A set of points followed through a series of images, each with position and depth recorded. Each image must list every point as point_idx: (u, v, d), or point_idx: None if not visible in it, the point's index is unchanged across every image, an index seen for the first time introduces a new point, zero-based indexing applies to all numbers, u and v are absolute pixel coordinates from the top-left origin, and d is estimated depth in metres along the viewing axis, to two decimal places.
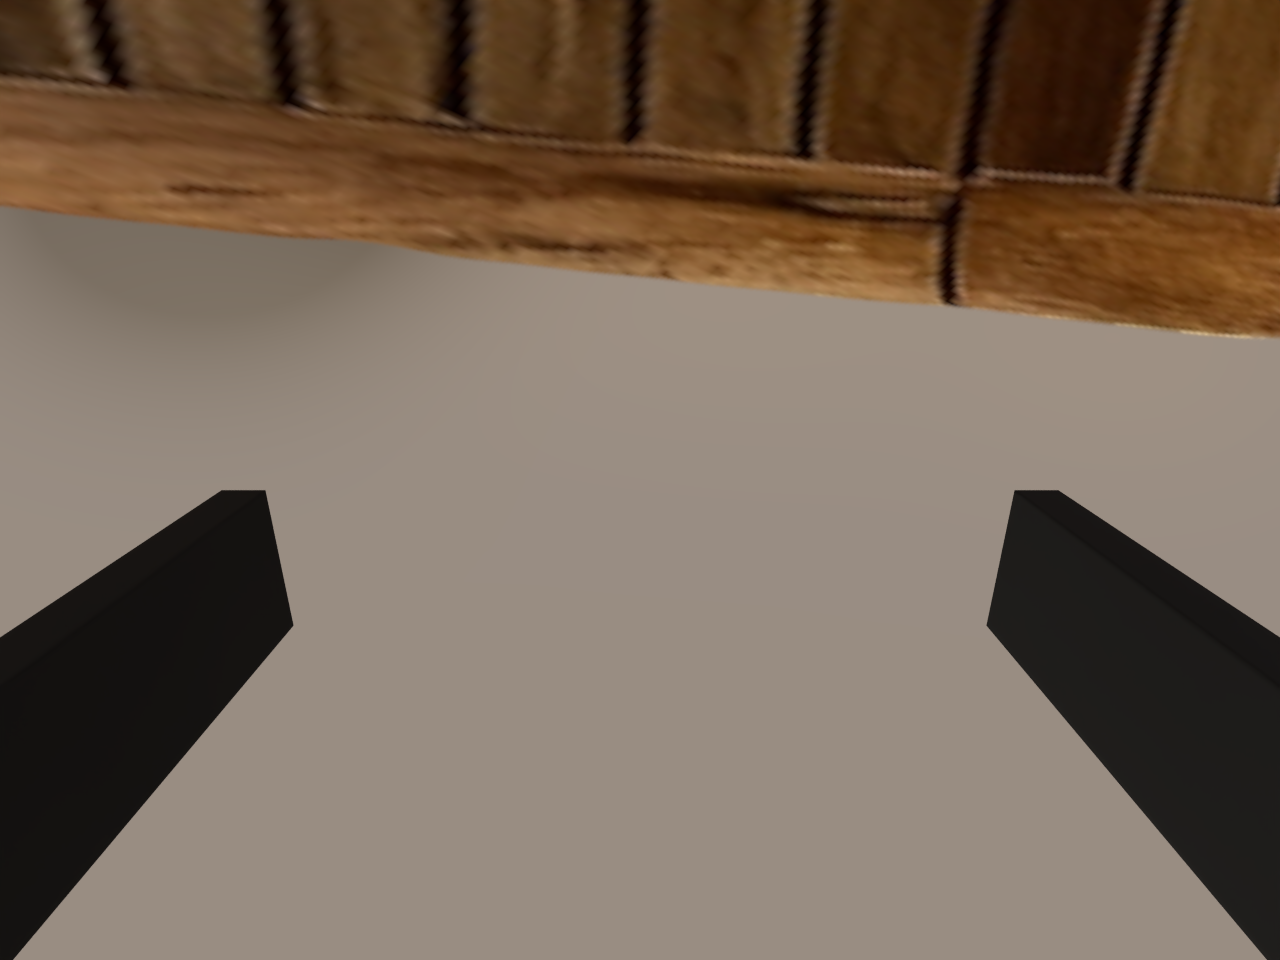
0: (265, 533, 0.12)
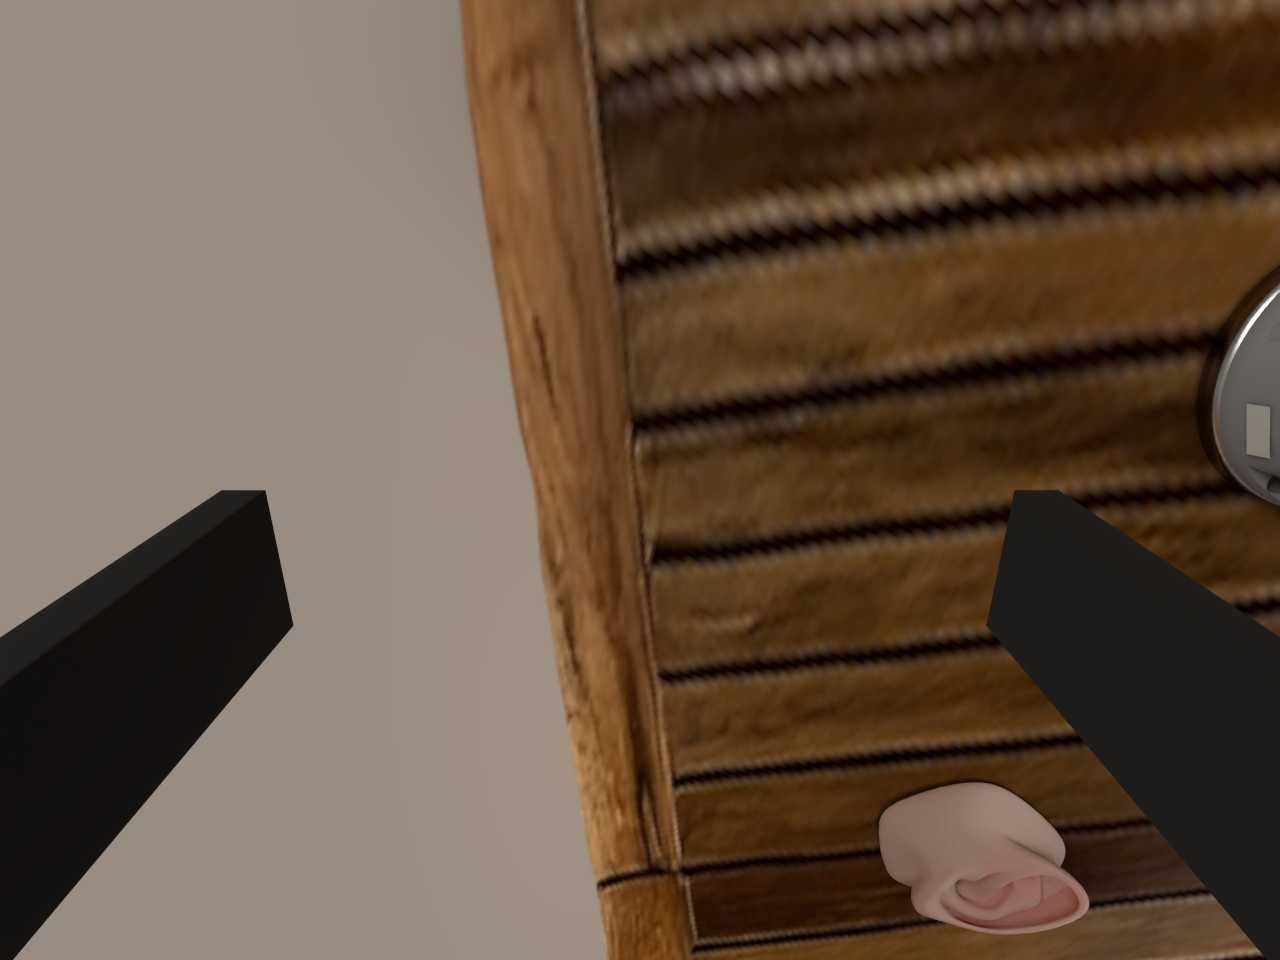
0: (265, 533, 0.12)
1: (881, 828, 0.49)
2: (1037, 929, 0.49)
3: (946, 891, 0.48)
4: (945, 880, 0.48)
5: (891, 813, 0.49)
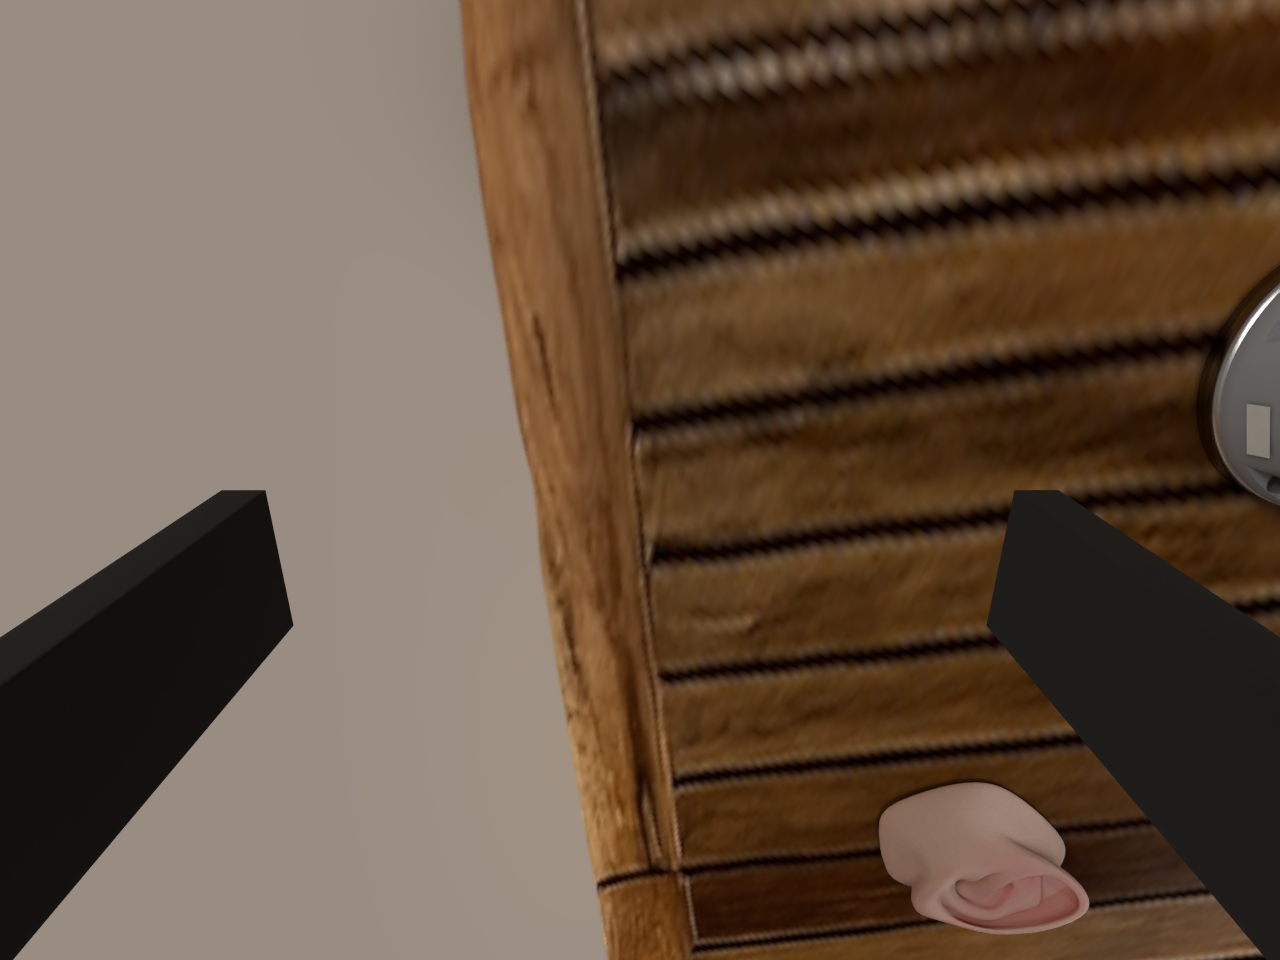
0: (265, 533, 0.12)
1: (881, 828, 0.49)
2: (1037, 929, 0.49)
3: (946, 891, 0.48)
4: (945, 880, 0.48)
5: (891, 813, 0.49)
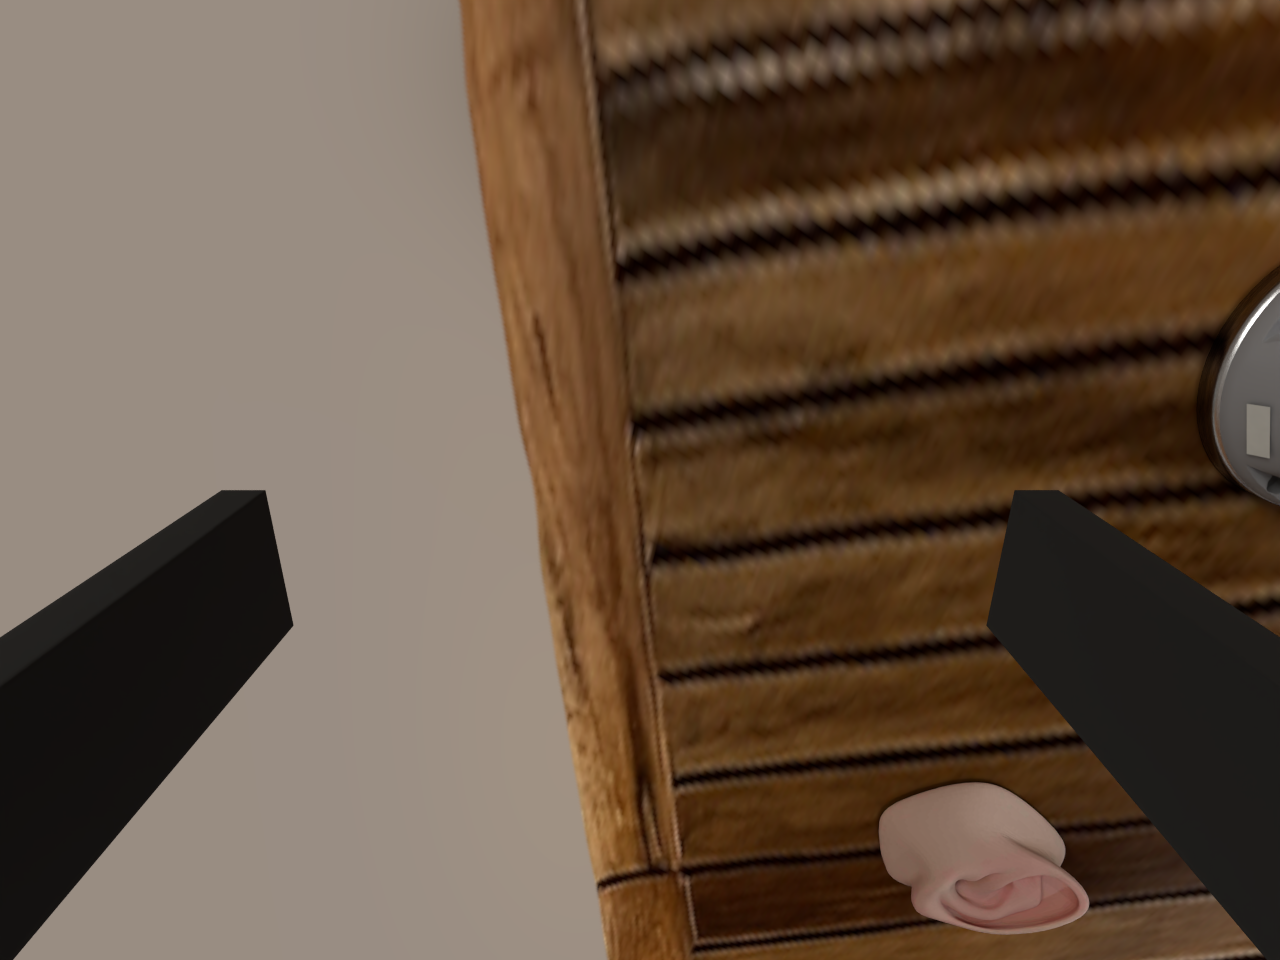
0: (265, 533, 0.12)
1: (881, 828, 0.49)
2: (1037, 929, 0.49)
3: (946, 891, 0.48)
4: (945, 880, 0.48)
5: (891, 813, 0.49)
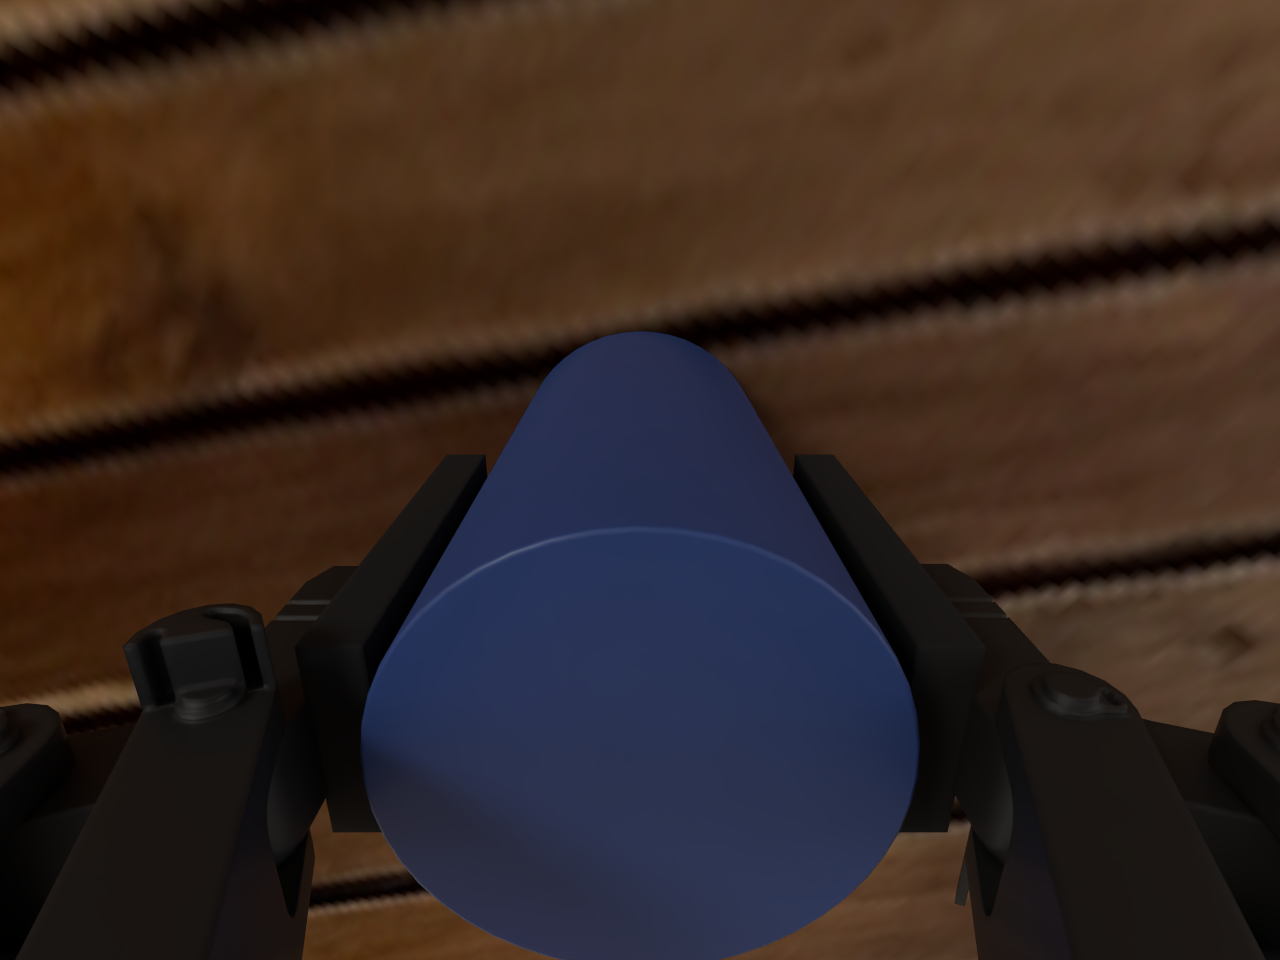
0: None
1: None
2: None
3: None
4: None
5: None
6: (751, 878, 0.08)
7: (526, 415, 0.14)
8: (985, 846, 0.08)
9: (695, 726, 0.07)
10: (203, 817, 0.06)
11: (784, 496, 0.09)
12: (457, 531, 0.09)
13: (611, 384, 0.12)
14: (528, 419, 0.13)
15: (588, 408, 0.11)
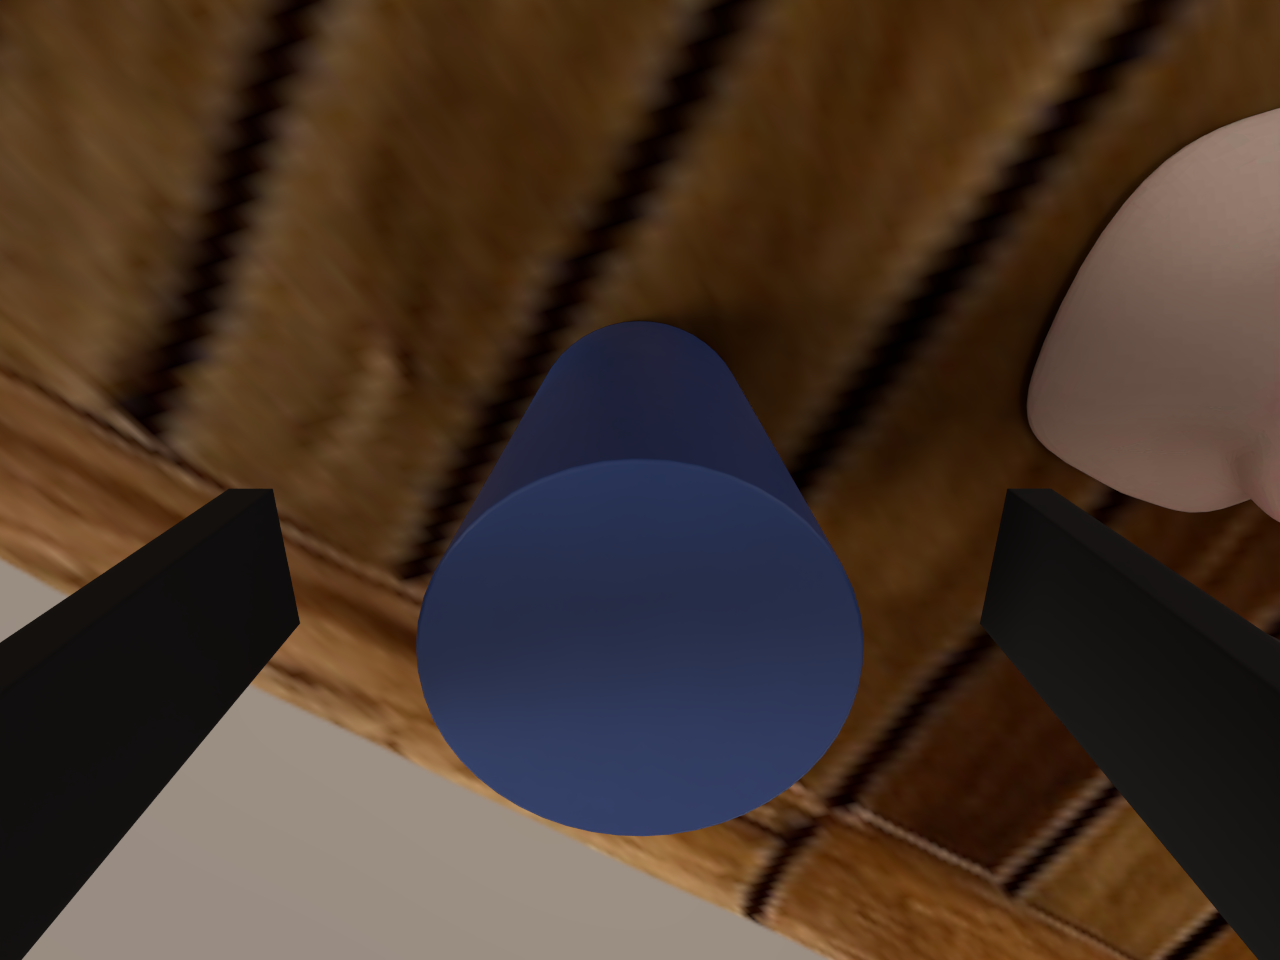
0: (272, 531, 0.12)
1: (1059, 452, 0.20)
2: None
3: None
4: None
5: (1040, 409, 0.19)
6: (729, 754, 0.10)
7: (539, 392, 0.16)
8: None
9: (684, 622, 0.09)
10: None
11: (758, 448, 0.11)
12: (488, 479, 0.11)
13: (614, 363, 0.14)
14: (542, 394, 0.15)
15: (595, 381, 0.13)
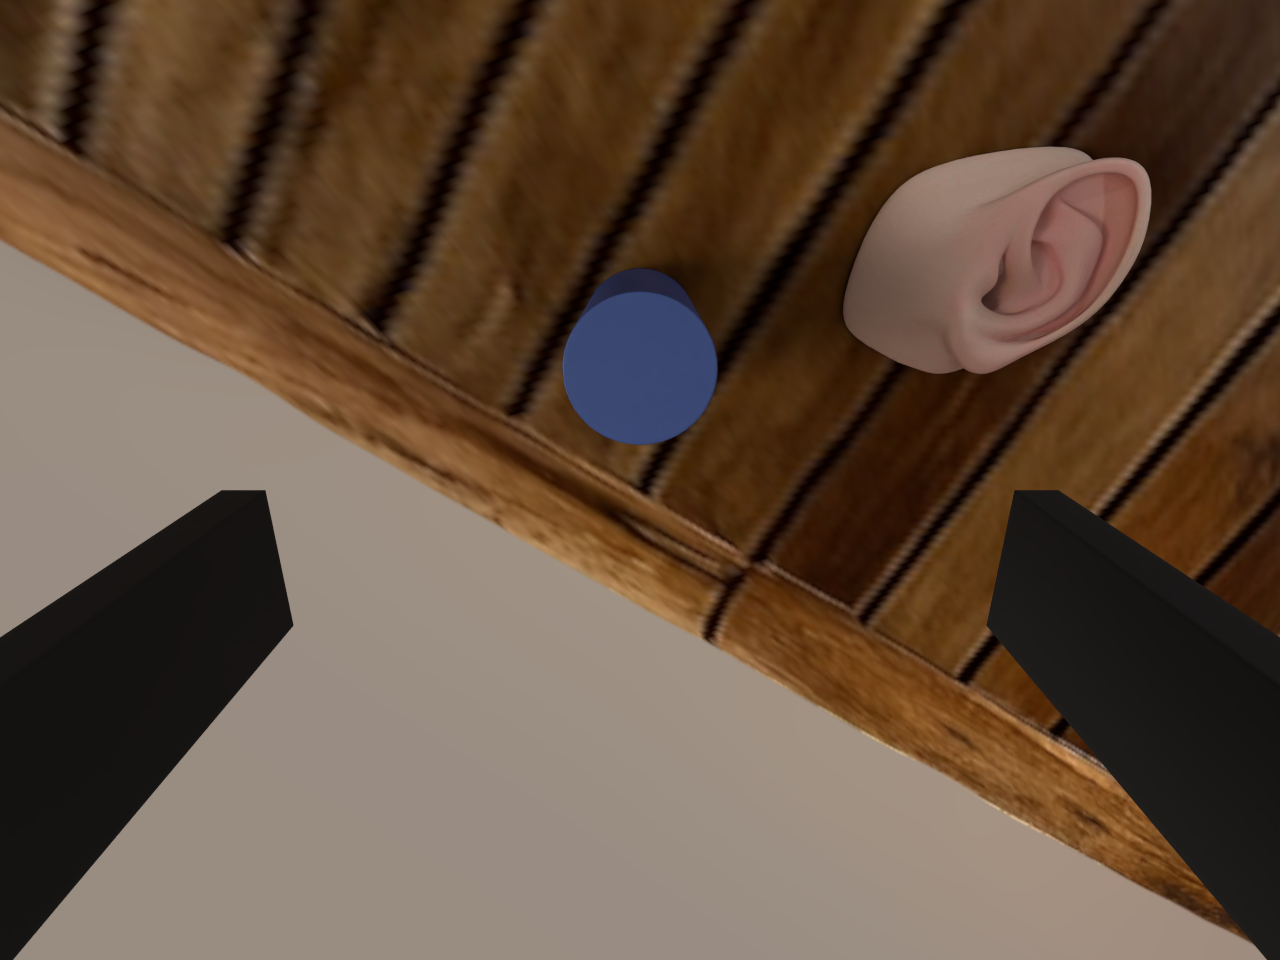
0: (265, 533, 0.12)
1: (861, 338, 0.38)
2: (1130, 255, 0.34)
3: (976, 322, 0.35)
4: (959, 313, 0.35)
5: (849, 314, 0.37)
6: (672, 407, 0.28)
7: (593, 296, 0.34)
8: None
9: (655, 352, 0.27)
10: None
11: (684, 301, 0.29)
12: None
13: (629, 278, 0.32)
14: (595, 294, 0.33)
15: (621, 282, 0.31)
